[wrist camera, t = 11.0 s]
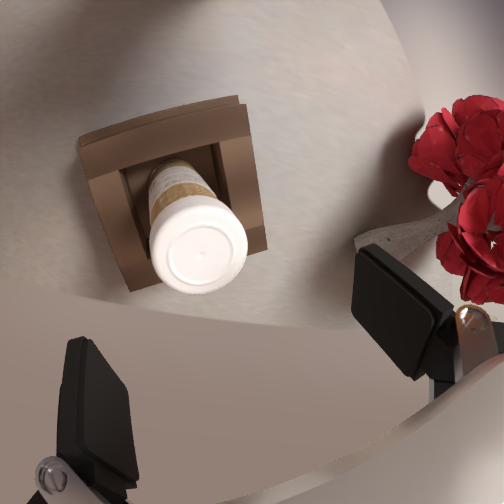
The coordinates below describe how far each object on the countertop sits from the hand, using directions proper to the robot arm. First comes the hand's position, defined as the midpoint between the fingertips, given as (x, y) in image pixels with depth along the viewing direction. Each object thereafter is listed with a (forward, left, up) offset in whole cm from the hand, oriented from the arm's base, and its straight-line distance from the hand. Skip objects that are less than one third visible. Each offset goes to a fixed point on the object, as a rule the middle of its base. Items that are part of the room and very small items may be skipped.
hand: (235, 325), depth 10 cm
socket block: (0, 0, -19) cm, 19 cm away
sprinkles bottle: (0, 0, -18) cm, 18 cm away
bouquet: (+6, +30, -20) cm, 37 cm away
